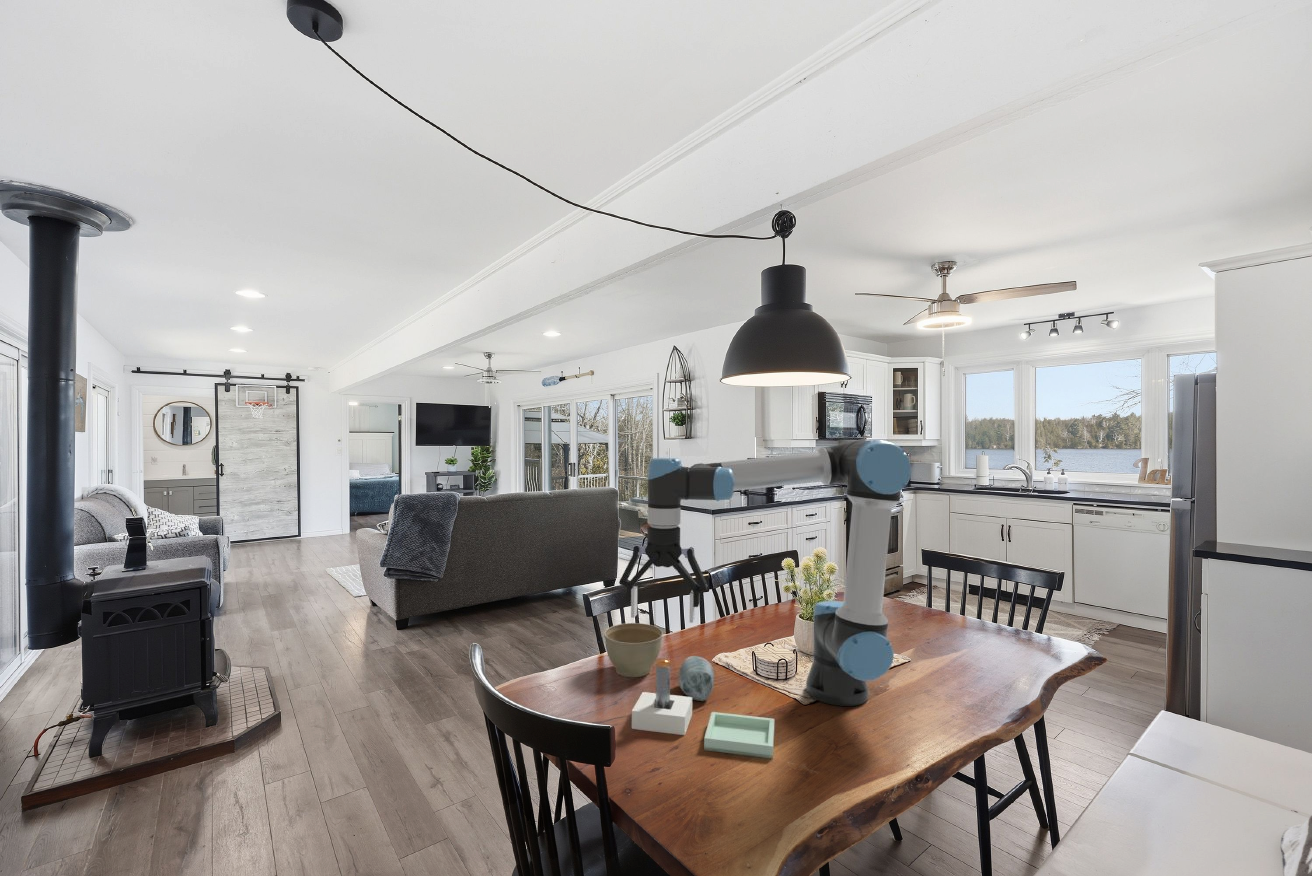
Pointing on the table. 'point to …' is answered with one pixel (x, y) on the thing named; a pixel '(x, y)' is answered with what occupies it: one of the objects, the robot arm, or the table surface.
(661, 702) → the pin
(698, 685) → the blue-grey stone
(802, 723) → the table surface
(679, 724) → the socket block
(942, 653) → the table surface
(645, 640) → the planter bowl
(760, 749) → the tray
